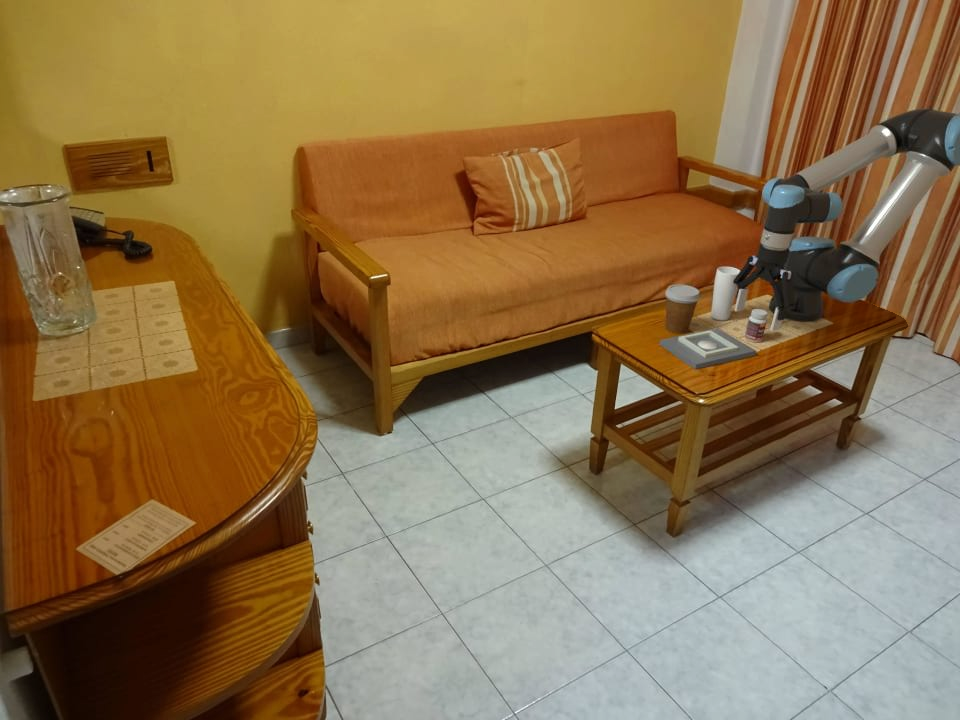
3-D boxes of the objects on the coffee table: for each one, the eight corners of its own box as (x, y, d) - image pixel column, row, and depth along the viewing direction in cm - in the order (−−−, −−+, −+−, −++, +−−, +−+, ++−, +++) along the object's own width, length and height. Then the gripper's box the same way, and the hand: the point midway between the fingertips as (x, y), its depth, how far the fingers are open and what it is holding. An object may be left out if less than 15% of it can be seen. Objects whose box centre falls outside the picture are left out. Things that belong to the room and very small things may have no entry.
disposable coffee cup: (669, 319, 202) (675, 281, 196) (699, 328, 196) (706, 289, 191) (653, 329, 195) (659, 290, 189) (684, 339, 190) (691, 299, 184)
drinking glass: (734, 322, 200) (744, 274, 193) (711, 322, 200) (720, 274, 193) (727, 313, 206) (737, 266, 199) (705, 312, 206) (714, 266, 199)
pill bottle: (758, 344, 188) (765, 316, 184) (741, 339, 190) (747, 311, 186) (765, 338, 191) (771, 311, 187) (748, 333, 194) (754, 306, 190)
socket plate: (716, 332, 194) (718, 325, 193) (755, 355, 182) (757, 347, 180) (659, 344, 186) (660, 336, 185) (695, 369, 174) (697, 360, 173)
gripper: (730, 233, 186) (715, 304, 196) (801, 263, 166) (780, 340, 176) (751, 231, 189) (735, 301, 199) (823, 259, 169) (801, 336, 179)
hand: (756, 320), depth 188 cm, fingers open, 13 cm apart
